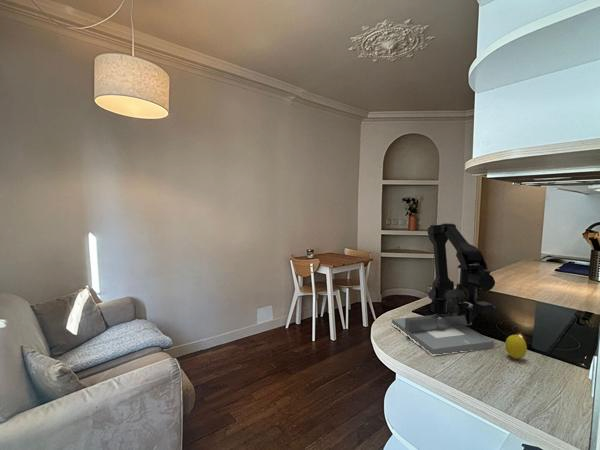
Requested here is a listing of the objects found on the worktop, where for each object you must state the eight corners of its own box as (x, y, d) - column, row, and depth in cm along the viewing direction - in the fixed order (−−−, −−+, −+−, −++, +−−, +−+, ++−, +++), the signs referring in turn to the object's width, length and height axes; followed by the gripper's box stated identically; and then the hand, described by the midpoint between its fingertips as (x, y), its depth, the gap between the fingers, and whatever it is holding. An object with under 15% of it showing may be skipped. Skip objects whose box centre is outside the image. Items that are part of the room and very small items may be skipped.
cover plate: (442, 320, 124) (443, 313, 124) (493, 348, 101) (493, 340, 101) (391, 325, 118) (392, 318, 118) (432, 356, 95) (433, 348, 95)
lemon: (501, 358, 95) (503, 333, 94) (507, 352, 98) (509, 329, 98) (522, 365, 91) (525, 340, 90) (527, 359, 94) (530, 335, 93)
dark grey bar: (464, 321, 115) (465, 311, 114) (474, 325, 111) (474, 315, 110) (403, 327, 108) (403, 317, 108) (410, 333, 104) (411, 321, 103)
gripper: (432, 277, 118) (430, 315, 119) (471, 291, 100) (468, 336, 101) (455, 275, 121) (453, 312, 122) (497, 289, 103) (494, 332, 104)
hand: (465, 322), depth 112 cm, fingers closed on dark grey bar, 2 cm apart
